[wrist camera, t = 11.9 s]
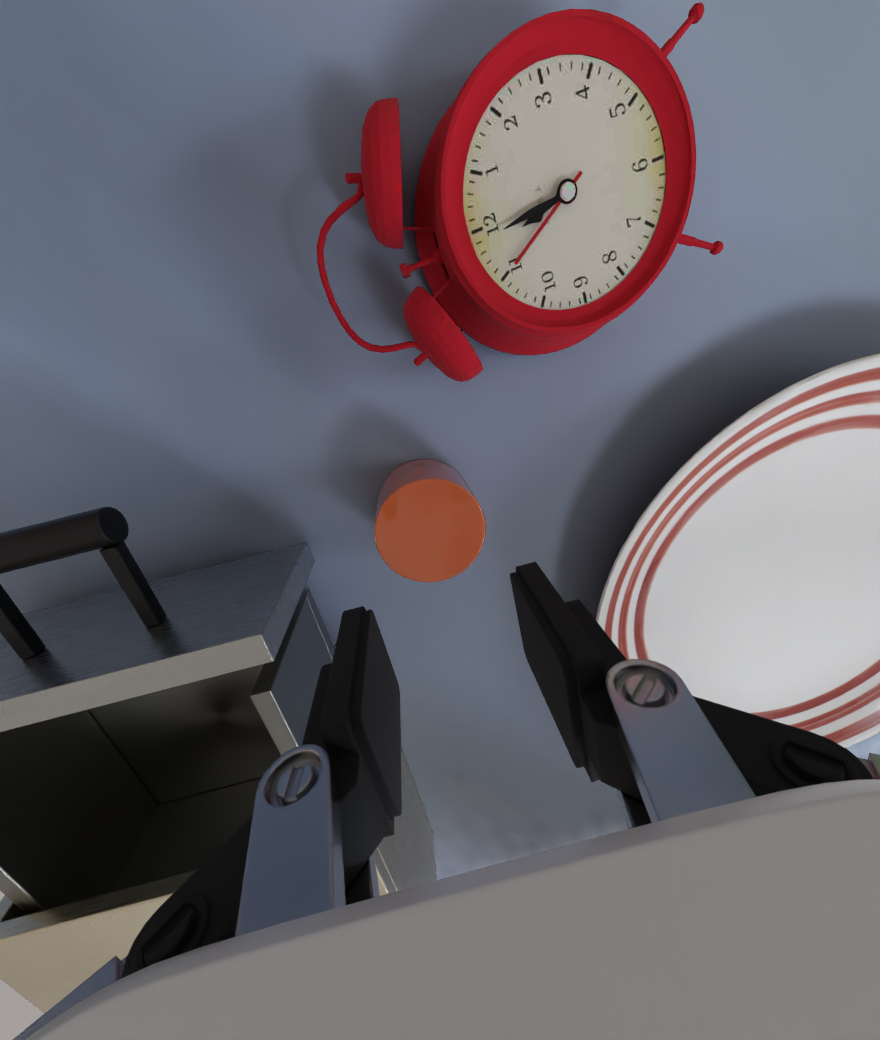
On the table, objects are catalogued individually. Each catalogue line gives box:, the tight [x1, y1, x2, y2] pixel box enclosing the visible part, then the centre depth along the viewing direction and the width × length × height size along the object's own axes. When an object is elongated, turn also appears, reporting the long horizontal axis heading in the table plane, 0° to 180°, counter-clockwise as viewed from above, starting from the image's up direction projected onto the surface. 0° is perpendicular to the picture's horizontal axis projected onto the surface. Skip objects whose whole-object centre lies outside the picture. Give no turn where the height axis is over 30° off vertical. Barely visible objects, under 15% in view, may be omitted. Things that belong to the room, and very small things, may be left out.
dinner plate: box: [596, 353, 880, 748], centre depth 25 cm, size 27×27×3 cm
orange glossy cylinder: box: [374, 459, 486, 582], centre depth 20 cm, size 5×5×4 cm
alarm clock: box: [317, 3, 723, 382], centre depth 16 cm, size 10×6×15 cm
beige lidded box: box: [0, 748, 437, 1014], centre depth 24 cm, size 16×17×10 cm
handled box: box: [0, 507, 335, 915], centre depth 19 cm, size 19×15×8 cm
